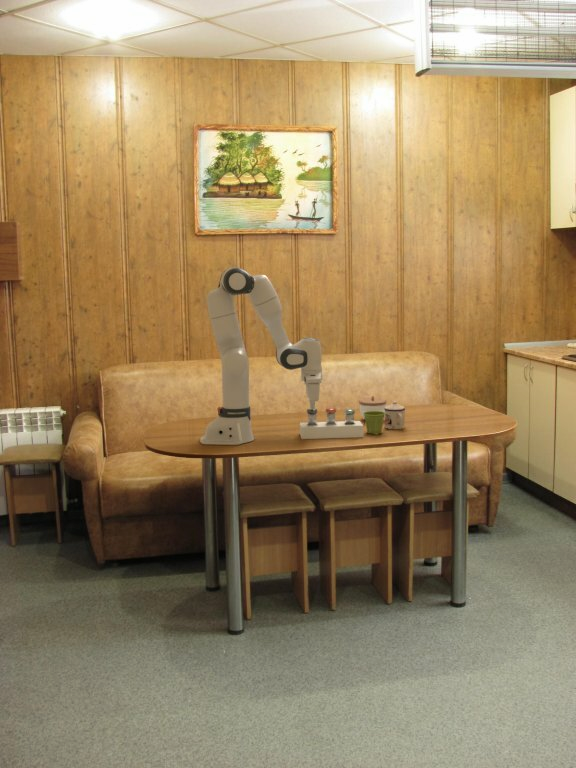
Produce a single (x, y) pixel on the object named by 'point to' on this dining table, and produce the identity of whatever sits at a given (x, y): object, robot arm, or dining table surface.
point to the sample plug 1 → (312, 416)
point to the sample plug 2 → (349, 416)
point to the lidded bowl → (372, 405)
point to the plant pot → (374, 421)
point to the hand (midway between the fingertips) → (312, 408)
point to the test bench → (331, 430)
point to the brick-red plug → (330, 415)
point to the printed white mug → (394, 416)
